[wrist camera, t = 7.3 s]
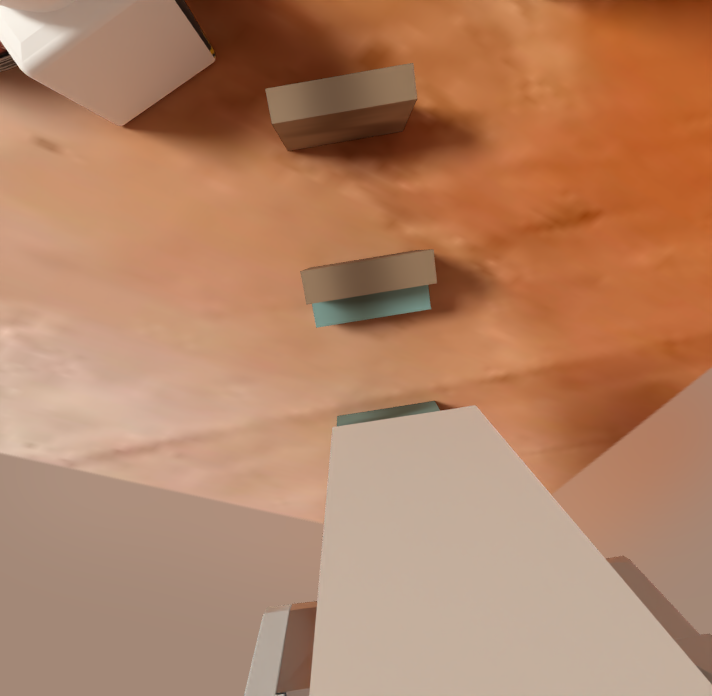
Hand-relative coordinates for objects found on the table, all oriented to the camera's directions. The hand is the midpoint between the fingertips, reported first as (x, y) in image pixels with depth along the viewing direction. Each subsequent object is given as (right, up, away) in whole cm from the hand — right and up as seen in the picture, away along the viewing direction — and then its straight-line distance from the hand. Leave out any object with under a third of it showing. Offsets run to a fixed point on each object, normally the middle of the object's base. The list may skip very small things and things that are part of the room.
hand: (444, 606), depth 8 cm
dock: (-1, +9, +18) cm, 20 cm away
